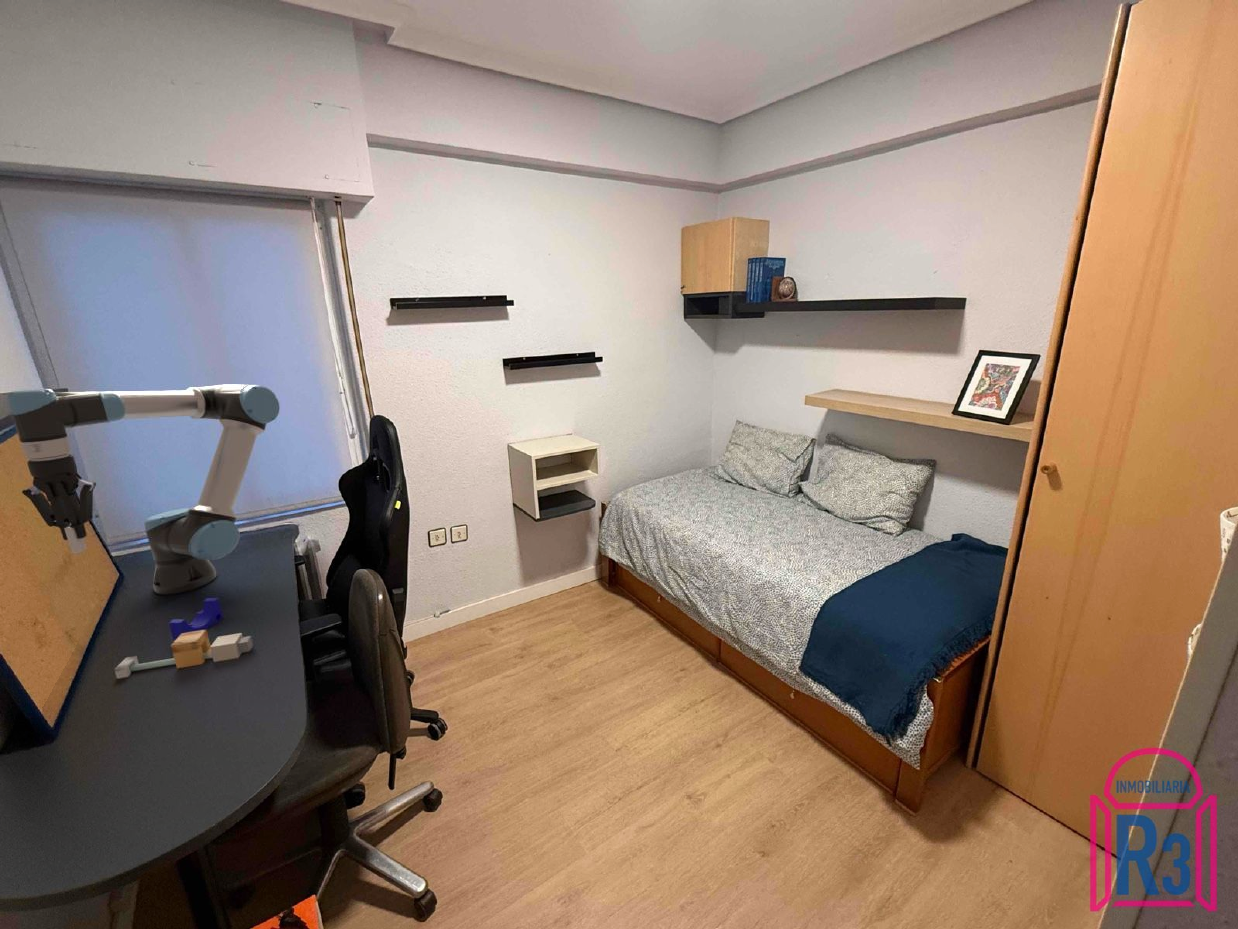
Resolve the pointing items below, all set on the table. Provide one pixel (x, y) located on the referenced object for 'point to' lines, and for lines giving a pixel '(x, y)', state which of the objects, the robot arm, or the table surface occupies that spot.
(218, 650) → the cord run
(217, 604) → the cable clip
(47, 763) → the table surface
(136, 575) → the table surface
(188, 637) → the sleeve
